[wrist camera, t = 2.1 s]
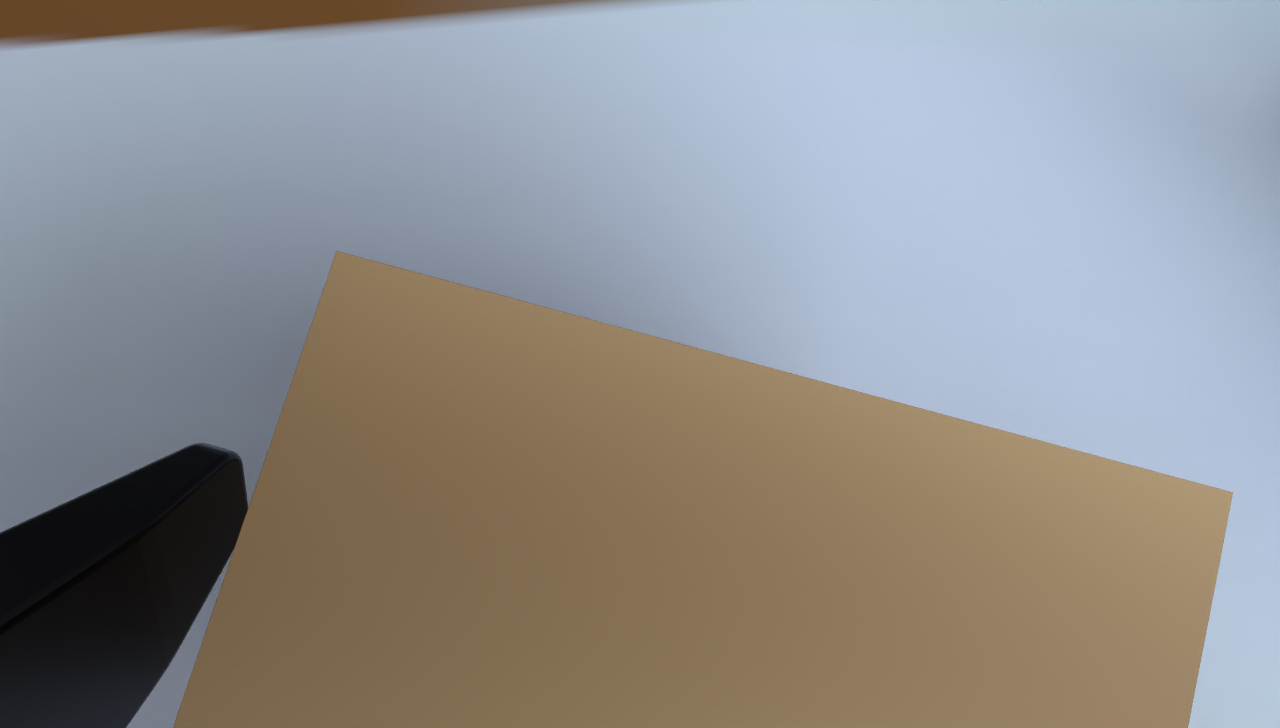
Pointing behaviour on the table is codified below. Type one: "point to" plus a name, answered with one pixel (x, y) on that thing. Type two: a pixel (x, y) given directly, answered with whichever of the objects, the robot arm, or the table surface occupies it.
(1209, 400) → the table surface
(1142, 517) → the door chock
